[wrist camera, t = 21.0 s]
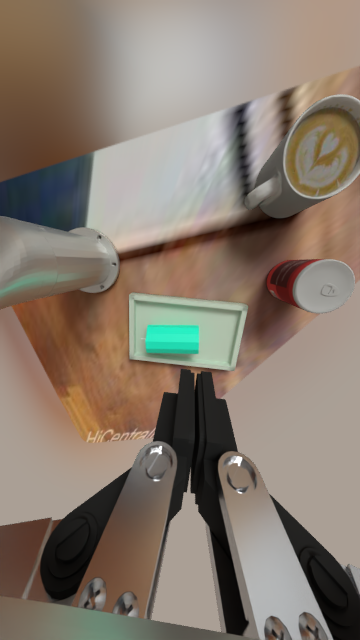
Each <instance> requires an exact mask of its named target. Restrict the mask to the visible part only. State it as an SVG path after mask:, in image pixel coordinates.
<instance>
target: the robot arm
mask: <svg viewBox="0 0 360 640" xmlns="http://www.w3.org/2000/svg"><path fill="white" fill-rule="evenodd" d="M101 237H102V238H101ZM115 263H116V266H115ZM119 270H120V262H119V256H118V253H117V251H116V249H115V247H114V245H113V244H112V242H111V241H110V240H109V239H108V238H107V237H106V236H105V235H103V234H102V233H100V232H98V231H96V230H94V229H90V228H83V227H82V228H76V229H73V230H71V231H69V232H66V231H62V230H58V229H53V228H49V227H45V226H41V225H37V224H32V223H28V222H24V221H20V220H17V219H12V218H8V217H2V216H0V309H3V308H6V307H9V306H12V305H16V304H20V303H24V302H27V301H32V300H36V299H40V298H44V297H49V296H53V295H57V294H61V293H65V292H70V291H74V290H78V289H79V290H81V291H84V292H88V293H98V292H102V291H105V290H107V289H108V288H110V287H111V286H112V285H113V284H114V283H115V281H116V279H117V277H118V275H119ZM103 286H104V287H103ZM190 468H191V493H194V494H195V504H198V511H199V513H200V514H201V516H202V517H203V519H204V520H205V522H206V533H207V539H208V546H209V553H210V559H211V566H212V573H213V579H214V586H215V593H216V600H217V606H218V613H219V620H220V627H221V632H216V631H210V630H205V629H199V628H193V627H188V626H182V625H176V624H170V623H164V622H159V621H154V620H151V618H152V613H153V608H154V603H155V598H156V593H157V587H158V582H159V577H160V572H161V567H162V562H163V557H164V552H165V547H166V542H167V537H168V532H169V526H170V521H171V520H172V518H173V517H174V516H175V515H176V514H177V513H178V512H179V510H181V506H182V500H183V493H184V492H187V487H188V481H189V474H190ZM0 640H360V569H359V568H357V567H355V566H352V565H350V564H348V565H347V567H346V566H343V565H341V564H339V563H338V562H337V561H336V559H335V558H334V557H333V556H332V555H331V554H330V553H329V552H328V551H327V550H326V549H325V548H324V547H323V546H322V545H321V544H320V543H319V542H318V541H317V540H316V539H315V538H314V537H313V536H312V535H311V534H310V533H309V532H308V531H307V530H306V529H305V528H304V527H303V526H302V525H301V524H299V522H298V521H297V520H296V519H295V518H293V517H292V516H291V515H290V514H289V513H288V512H287V511H286V510H285V509H284V508H283V507H282V506H281V505H280V504H279V503H278V502H277V501H276V500H275V499H274V498H273V497H272V496H271V495H270V494H269V492H268V490H267V488H266V486H265V483H264V481H263V479H262V477H261V474H260V472H259V471H258V469H257V467H256V466H255V464H254V463H253V462H252V461H251V460H250V459H249V458H248V457H246V456H245V455H244V454H241V453H239V452H238V451H237V446H236V442H235V438H234V434H233V429H232V425H231V420H230V416H229V412H228V408H227V404H226V400H225V399H217V398H216V397H215V391H214V385H213V379H212V373H211V372H204V371H201V374H198V373H197V378H196V385H195V388H194V373H191V370H187V369H181V374H180V383H179V391H178V394H176V393H168V392H164V394H163V399H162V403H161V408H160V412H159V416H158V421H157V425H156V430H155V434H154V439H153V442H151V443H149V444H147V445H145V446H144V447H143V448H142V449H141V450H140V452H139V453H138V455H137V457H136V459H135V461H134V464H133V466H132V467H131V468H130V469H129V470H128V471H126V472H125V473H123V474H122V475H121V476H119V477H118V478H117V479H115V480H114V481H113V482H111V483H110V484H108V485H107V486H106V487H104V488H103V489H102V490H100V491H99V492H98V493H96V494H95V495H94V496H92V497H91V498H89V499H88V500H87V501H85V502H84V503H83V504H81V505H80V506H79V507H77V508H76V509H75V510H73V511H72V512H71V513H69V514H68V515H67V516H66V517H65V518H64V519H59V520H53V521H52V518H45V519H39V520H33V521H27V522H21V523H15V524H10V525H3V526H0Z"/></svg>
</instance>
